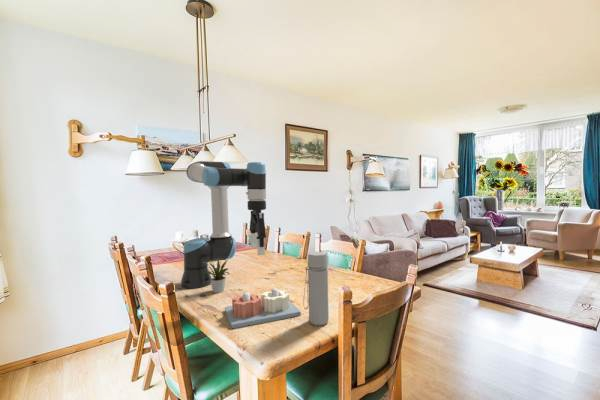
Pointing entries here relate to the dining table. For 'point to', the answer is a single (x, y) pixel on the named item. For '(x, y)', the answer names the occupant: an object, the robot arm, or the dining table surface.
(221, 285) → the house plant
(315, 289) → the water bottle
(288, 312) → the board
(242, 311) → the gear
